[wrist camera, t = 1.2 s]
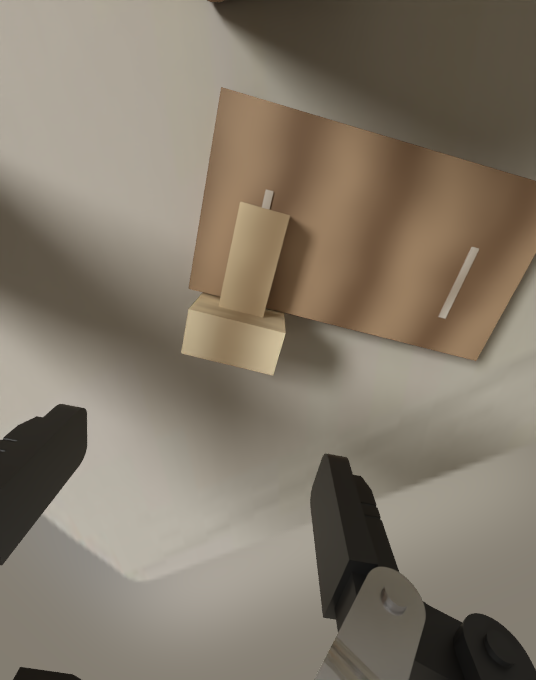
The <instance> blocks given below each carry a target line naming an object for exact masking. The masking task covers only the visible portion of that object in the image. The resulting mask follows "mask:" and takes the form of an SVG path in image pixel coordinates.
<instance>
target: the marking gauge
mask: <svg viewBox="0 0 536 680" xmlns="http://www.w3.org/2000/svg"><path fill="white" fill-rule="evenodd" d="M289 218H290V215H287V214H283V213H280V212H276V211H273V210H269V209H265V208H262V207H258V206H255V205H251V204H247V203H244V202H240V205H239V210H238V215H237V220H236V225H235V229H234V234H233V239H232V244H231V249H230V253H229V258H228V263H227V268H226V273H225V278H224V282H223V287H222V292H221V297H220V296H216V295H212V294H208V293H204V292H203V293H202V294H201V295H200V297H199V298H198V299H197V300H196V301H195V302H194V303H193V305H192V306H191V307H190V308H189V310H188V315H187V321H186V327H185V333H184V339H183V345H182V350H181V353H182V354H186V355H190V356H194V357H198V358H203V359H207V360H211V361H215V362H219V363H223V364H228V365H232V366H236V367H240V368H244V369H248V370H252V371H257V372H261V373H265V374H269V375H273V374H274V371H275V367H276V364H277V361H278V357H279V354H280V351H281V347H282V344H283V341H284V337H285V334H286V331H285V318H284V312H280V311H276V310H272V309H268V308H266V304H267V301H268V297H269V293H270V289H271V286H272V282H273V278H274V274H275V271H276V267H277V263H278V259H279V255H280V252H281V248H282V244H283V240H284V237H285V233H286V229H287V225H288V222H289Z"/></svg>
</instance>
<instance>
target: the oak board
mask: <svg viewBox="0 0 536 680" xmlns="http://www.w3.org/2000/svg"><path fill="white" fill-rule="evenodd" d="M240 202H244V203H247V204H251V205H255V206H258V207H262V208H265V209H269V210H273V211H276V212H280V213H283V214H287V215H290V218H289V222H288V225H287V229H286V233H285V237H284V240H283V244H282V248H281V252H280V255H279V259H278V263H277V267H276V271H275V274H274V278H273V282H272V286H271V289H270V293H269V297H268V301H267V304H266V308H268V309H272V310H276V311H280V312H284V313H288V314H292V315H296V316H300V317H304V318H308V319H312V320H316V321H320V322H324V323H328V324H332V325H336V326H340V327H344V328H347V329H351V330H355V331H359V332H363V333H367V334H371V335H375V336H379V337H383V338H387V339H391V340H395V341H399V342H403V343H407V344H411V345H415V346H419V347H423V348H427V349H431V350H435V351H439V352H443V353H447V354H451V355H455V356H459V357H463V358H467V359H471V360H475V361H476V360H477V358H478V356H479V355H480V353H481V351H482V349H483V347H484V346H485V344H486V342H487V340H488V338H489V337H490V335H491V333H492V331H493V329H494V328H495V326H496V324H497V322H498V320H499V319H500V317H501V315H502V313H503V311H504V310H505V308H506V306H507V304H508V302H509V300H510V299H511V297H512V295H513V293H514V291H515V290H516V288H517V286H518V284H519V282H520V281H521V279H522V277H523V275H524V273H525V272H526V270H527V268H528V266H529V264H530V263H531V261H532V259H533V257H534V255H535V254H536V181H534V180H531V179H527V178H524V177H521V176H517V175H514V174H510V173H507V172H504V171H500V170H497V169H494V168H490V167H487V166H484V165H480V164H477V163H474V162H470V161H467V160H464V159H460V158H457V157H454V156H450V155H447V154H443V153H440V152H437V151H433V150H430V149H427V148H423V147H420V146H417V145H413V144H410V143H407V142H403V141H400V140H397V139H393V138H390V137H387V136H383V135H380V134H376V133H373V132H370V131H366V130H363V129H360V128H356V127H353V126H350V125H346V124H343V123H340V122H336V121H333V120H330V119H326V118H323V117H320V116H316V115H313V114H309V113H306V112H303V111H299V110H296V109H293V108H289V107H286V106H283V105H279V104H276V103H273V102H269V101H266V100H263V99H259V98H256V97H253V96H249V95H246V94H243V93H239V92H236V91H232V90H229V89H226V88H222V87H221V92H220V98H219V104H218V110H217V117H216V123H215V129H214V135H213V141H212V147H211V154H210V160H209V166H208V172H207V178H206V184H205V190H204V197H203V203H202V209H201V215H200V221H199V227H198V234H197V240H196V246H195V252H194V258H193V264H192V271H191V277H190V283H189V289H192V290H196V291H200V292H204V293H208V294H212V295H216V296H220V297H221V292H222V287H223V282H224V278H225V273H226V268H227V263H228V258H229V253H230V249H231V244H232V239H233V234H234V229H235V225H236V220H237V215H238V210H239V205H240Z"/></svg>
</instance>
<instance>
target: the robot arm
mask: <svg viewBox="0 0 536 680" xmlns="http://www.w3.org/2000/svg"><path fill="white" fill-rule="evenodd" d="M86 449H87V411H86V409H85V408H81V407H75V406H70V405H64V404H59V405H57V406H56V407H54V408H53V409H52V410H51V411H50V412H49V413H48V414H46V415H45V416H44V417H35V418H33V419H31V420H28V421H26V422H24V423H22V424H20V425H18V426H17V427H16V428H14V429H13V430H12V431H11V432H10V433H8V434H7V435H6V436H5V437H4V438H3V440H0V565H3V563H4V562H5V561H6V559H7V558H8V557H9V556H10V554H11V553H12V552H13V550H14V549H15V548H16V547H17V545H18V544H19V543H20V542H21V540H22V539H23V537H24V536H25V535H26V534H27V532H28V531H29V530H30V529H31V527H32V526H33V525H34V523H35V522H36V521H37V520H38V518H39V517H40V516H41V514H42V513H43V512H44V510H45V509H46V508H47V507H48V505H49V504H50V503H51V501H52V500H53V499H54V498H55V496H56V495H57V494H58V492H59V491H60V490H61V489H62V487H63V486H64V485H65V483H66V482H67V481H68V479H69V478H70V477H71V476H72V474H73V473H74V472H75V470H76V469H77V468H78V467H79V465H80V464H81V462H82V460H83V458H84V456H85V453H86ZM310 505H311V515H312V524H313V532H314V541H315V550H316V559H317V568H318V575H319V585H320V594H321V602H322V612H323V617H324V618H330V619H336V622H337V629H338V634H337V636H336V638H335V641H334V642H333V644H332V646H331V648H330V650H329V652H328V654H327V656H326V658H325V659H324V661H323V663H322V665H321V667H320V669H319V671H318V673H317V675H316V677H315V679H314V680H536V670H535V668H534V666H533V664H532V662H531V660H530V658H529V657H528V655H527V653H526V651H525V650H524V649H523V647H522V646H521V644H520V643H519V642H518V640H517V639H516V638H515V637H514V636H513V635H512V634H511V633H510V632H509V631H508V630H507V629H506V628H505V627H504V626H503V625H501V624H500V623H499V622H497V621H496V620H494V619H492V618H490V617H488V616H486V615H483V614H477V613H474V614H471V615H468V616H467V617H466V618H465V620H464V621H463V623H462V622H460V621H458V620H456V619H454V618H452V617H450V616H448V615H446V614H444V613H443V612H441V611H439V610H437V609H435V608H433V607H431V606H429V605H427V604H426V603H425V602H423V601H422V598H421V596H420V594H419V593H418V591H417V589H416V588H415V587H414V585H413V584H412V583H411V582H410V581H409V580H408V579H407V578H406V577H405V576H403V575H402V574H401V573H400V572H399V570H398V568H397V565H396V561H395V559H394V556H393V553H392V550H391V547H390V544H389V541H388V538H387V535H386V532H385V529H384V526H383V523H382V521H381V520H380V514H379V511H378V508H376V502H375V499H374V496H373V493H372V490H371V489H370V487H369V486H368V485H367V483H366V482H365V481H364V479H363V478H362V477H361V476H357V475H353V474H352V470H351V467H350V463H349V460H348V458H346V457H342V456H336V455H331V454H324V455H323V457H322V460H321V463H320V466H319V469H318V472H317V475H316V478H315V480H314V483H313V486H312V491H311V499H310ZM13 680H81V679H79V678H78V677H76V676H74V675H72V674H66V673H59V672H52V671H44V670H38V669H31V668H23V667H20V668H19V670H18V672H17V674H16V676H15V677H14V679H13Z"/></svg>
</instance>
